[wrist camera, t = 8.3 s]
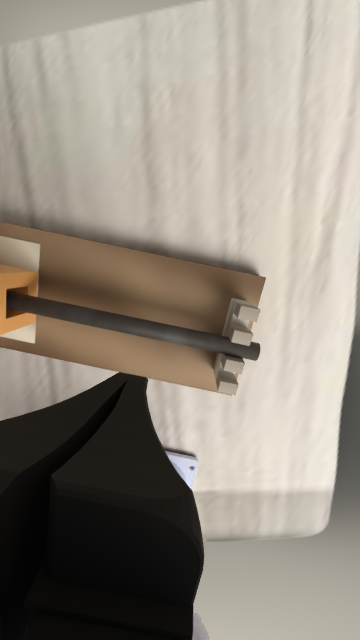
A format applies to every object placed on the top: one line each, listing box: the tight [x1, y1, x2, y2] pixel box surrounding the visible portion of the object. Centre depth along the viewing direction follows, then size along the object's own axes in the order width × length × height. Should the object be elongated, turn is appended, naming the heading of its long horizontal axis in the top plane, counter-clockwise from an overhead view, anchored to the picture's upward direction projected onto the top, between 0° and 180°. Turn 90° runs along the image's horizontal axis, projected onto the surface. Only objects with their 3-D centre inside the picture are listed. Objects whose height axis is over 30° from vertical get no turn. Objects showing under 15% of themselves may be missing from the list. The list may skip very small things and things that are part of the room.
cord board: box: [0, 222, 266, 395], centre depth 17 cm, size 10×28×6 cm, turn 78°
